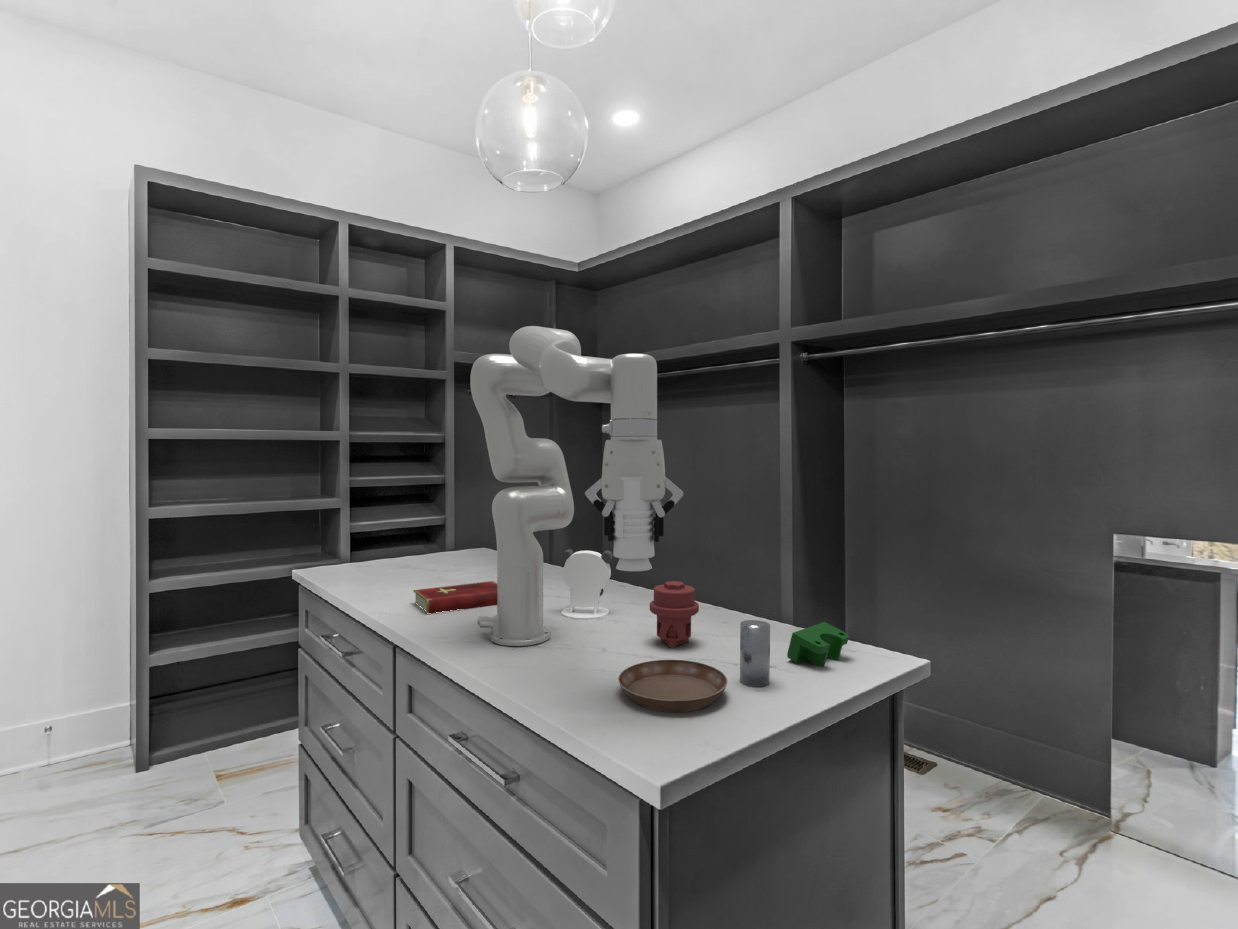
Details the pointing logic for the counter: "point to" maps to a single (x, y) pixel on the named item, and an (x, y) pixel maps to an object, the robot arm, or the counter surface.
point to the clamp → (817, 644)
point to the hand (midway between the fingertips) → (634, 539)
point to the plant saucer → (673, 685)
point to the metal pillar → (754, 653)
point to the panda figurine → (586, 582)
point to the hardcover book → (457, 597)
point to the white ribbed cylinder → (633, 528)
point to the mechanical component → (674, 611)
